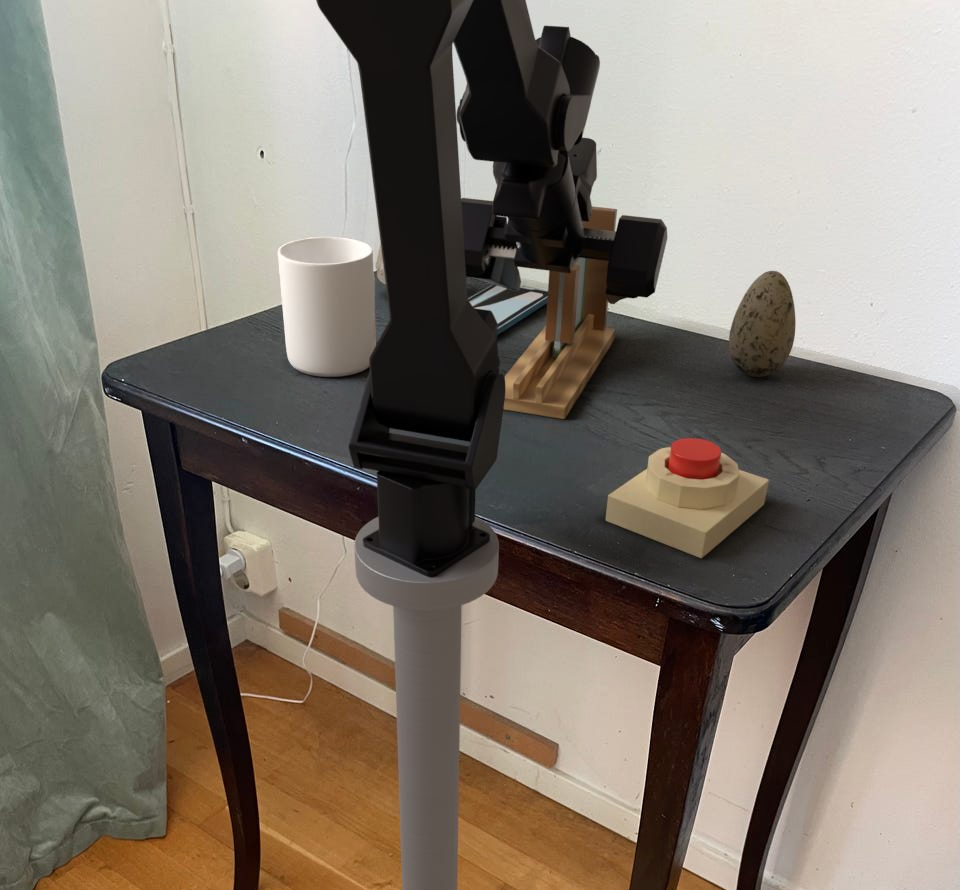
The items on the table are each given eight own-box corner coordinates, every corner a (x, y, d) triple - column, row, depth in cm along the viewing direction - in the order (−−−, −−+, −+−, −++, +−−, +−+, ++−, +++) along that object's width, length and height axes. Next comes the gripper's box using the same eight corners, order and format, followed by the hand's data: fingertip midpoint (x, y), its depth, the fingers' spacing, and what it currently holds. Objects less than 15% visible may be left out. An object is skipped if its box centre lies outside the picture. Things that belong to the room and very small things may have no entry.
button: (702, 487, 73) (706, 465, 72) (658, 471, 74) (661, 449, 73) (726, 469, 75) (730, 447, 74) (683, 454, 77) (686, 433, 76)
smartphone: (426, 321, 107) (498, 280, 117) (426, 330, 107) (498, 288, 118) (487, 335, 104) (555, 292, 114) (487, 344, 104) (555, 300, 115)
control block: (701, 559, 72) (710, 509, 69) (604, 521, 76) (610, 472, 73) (764, 505, 78) (774, 458, 76) (672, 472, 82) (679, 427, 80)
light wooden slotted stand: (564, 419, 90) (575, 271, 82) (488, 407, 91) (493, 261, 84) (614, 340, 106) (627, 209, 98) (549, 331, 107) (557, 202, 100)
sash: (569, 359, 97) (576, 264, 92) (543, 355, 98) (549, 260, 93) (591, 327, 104) (598, 237, 99) (567, 324, 105) (573, 235, 100)
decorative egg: (730, 386, 96) (748, 281, 91) (717, 362, 101) (734, 261, 96) (793, 387, 97) (815, 282, 91) (777, 363, 101) (797, 262, 96)
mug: (412, 345, 103) (410, 237, 97) (342, 386, 94) (336, 270, 88) (342, 329, 107) (336, 223, 100) (269, 367, 98) (257, 253, 92)
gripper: (679, 116, 79) (682, 225, 94) (452, 97, 84) (490, 204, 99) (648, 247, 78) (657, 336, 93) (419, 220, 82) (463, 310, 97)
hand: (565, 292), depth 96 cm, fingers open, 9 cm apart
